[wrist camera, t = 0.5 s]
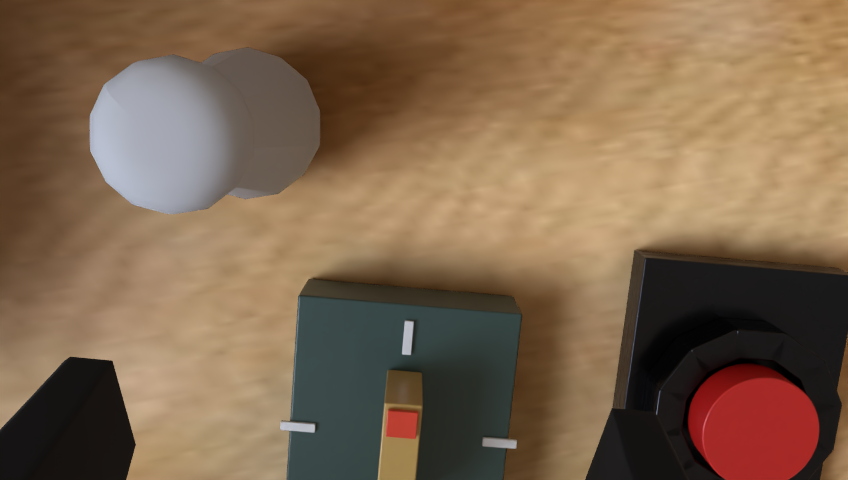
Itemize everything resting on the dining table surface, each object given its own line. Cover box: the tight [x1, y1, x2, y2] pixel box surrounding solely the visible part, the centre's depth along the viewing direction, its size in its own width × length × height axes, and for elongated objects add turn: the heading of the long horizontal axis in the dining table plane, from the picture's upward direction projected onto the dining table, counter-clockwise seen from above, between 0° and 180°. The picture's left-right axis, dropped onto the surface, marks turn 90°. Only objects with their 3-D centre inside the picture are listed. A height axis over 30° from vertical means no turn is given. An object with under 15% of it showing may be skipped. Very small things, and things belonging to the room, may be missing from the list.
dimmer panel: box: [280, 279, 522, 480], centre depth 34 cm, size 11×10×3 cm
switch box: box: [613, 250, 848, 480], centre depth 34 cm, size 12×9×4 cm
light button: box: [688, 363, 819, 480], centre depth 32 cm, size 5×5×2 cm
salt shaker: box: [90, 47, 320, 214], centre depth 27 cm, size 6×6×13 cm
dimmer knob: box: [378, 370, 423, 480], centre depth 31 cm, size 6×1×4 cm, turn 175°
